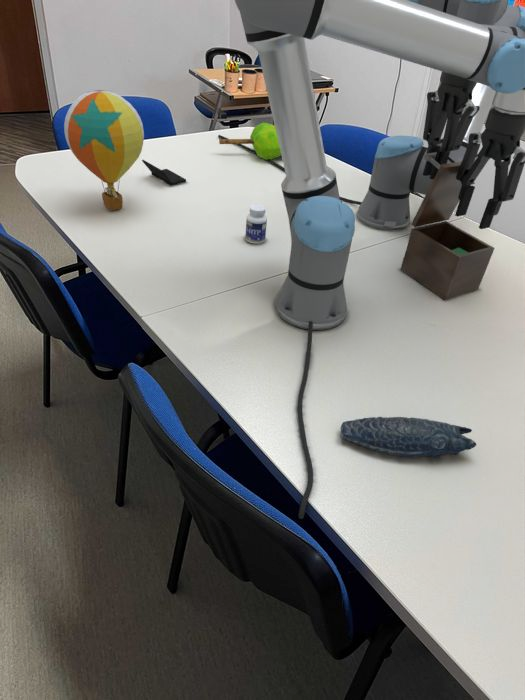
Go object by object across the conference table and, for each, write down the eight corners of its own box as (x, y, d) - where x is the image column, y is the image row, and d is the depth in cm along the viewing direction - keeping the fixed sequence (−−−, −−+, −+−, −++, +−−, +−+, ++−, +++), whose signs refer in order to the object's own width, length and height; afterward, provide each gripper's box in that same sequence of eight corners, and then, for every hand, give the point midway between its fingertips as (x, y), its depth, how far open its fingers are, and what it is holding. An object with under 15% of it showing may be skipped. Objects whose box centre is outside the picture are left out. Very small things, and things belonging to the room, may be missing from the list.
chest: (478, 289, 125) (494, 247, 118) (444, 300, 120) (459, 257, 113) (433, 260, 135) (446, 220, 128) (400, 269, 130) (411, 228, 123)
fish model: (474, 470, 81) (484, 449, 78) (339, 453, 82) (344, 431, 79) (465, 439, 86) (475, 417, 83) (339, 423, 87) (344, 401, 84)
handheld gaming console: (190, 175, 164) (173, 153, 156) (179, 193, 163) (161, 172, 155) (166, 170, 170) (147, 148, 162) (155, 188, 169) (136, 167, 161)
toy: (64, 203, 145) (44, 85, 127) (127, 189, 156) (117, 79, 137) (97, 229, 134) (80, 105, 116) (162, 213, 145) (156, 96, 126)
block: (467, 270, 122) (473, 254, 120) (457, 274, 120) (462, 258, 118) (453, 262, 125) (458, 247, 122) (443, 266, 123) (448, 251, 120)
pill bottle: (242, 241, 135) (244, 209, 130) (249, 233, 139) (251, 201, 134) (261, 245, 134) (263, 213, 129) (268, 237, 138) (270, 205, 132)
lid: (481, 162, 115) (457, 142, 119) (444, 167, 110) (420, 146, 114) (448, 219, 127) (427, 199, 131) (414, 227, 122) (393, 206, 126)
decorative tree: (216, 119, 186) (297, 119, 192) (216, 149, 193) (294, 148, 198) (222, 134, 173) (309, 133, 178) (222, 165, 179) (306, 163, 185)
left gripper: (566, 122, 96) (518, 236, 110) (485, 96, 108) (451, 202, 123) (540, 125, 93) (494, 242, 107) (460, 98, 105) (429, 206, 119)
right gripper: (503, 70, 103) (466, 185, 118) (449, 55, 113) (421, 164, 128) (478, 72, 100) (442, 190, 115) (424, 56, 110) (398, 167, 124)
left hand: (472, 221), depth 115 cm, fingers open, 6 cm apart
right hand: (431, 176), depth 121 cm, fingers closed on lid, 2 cm apart
